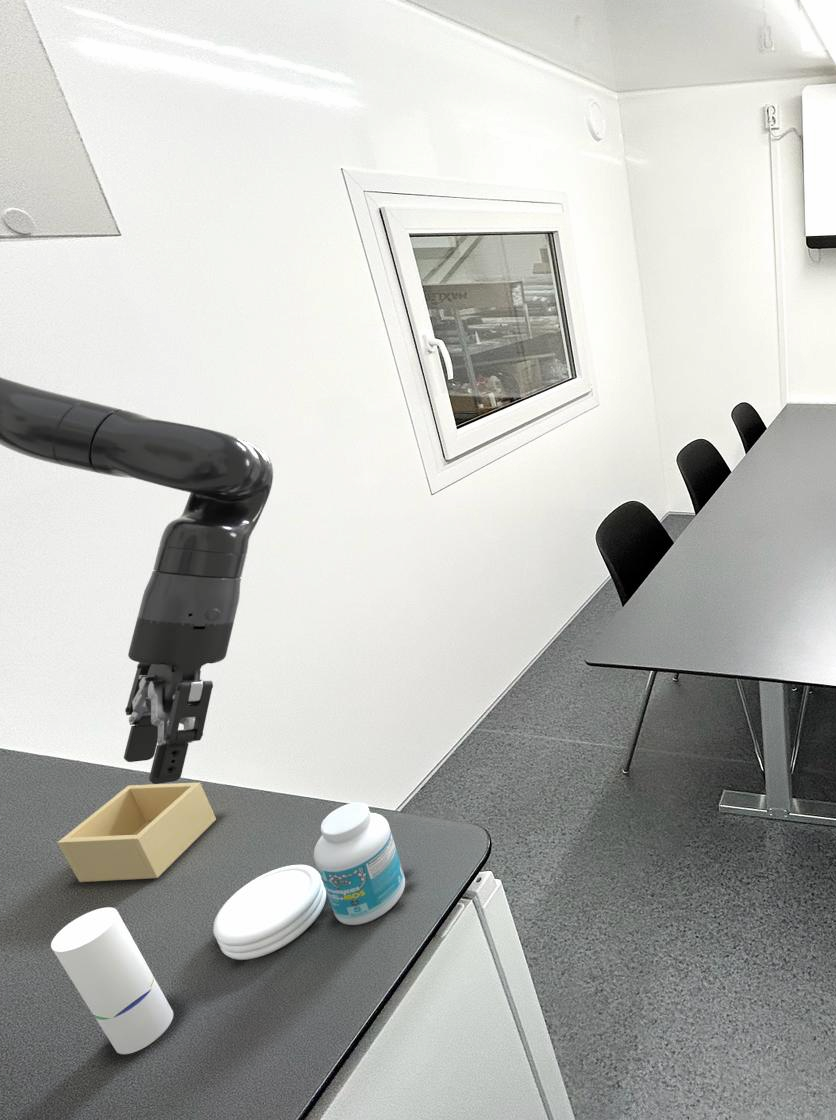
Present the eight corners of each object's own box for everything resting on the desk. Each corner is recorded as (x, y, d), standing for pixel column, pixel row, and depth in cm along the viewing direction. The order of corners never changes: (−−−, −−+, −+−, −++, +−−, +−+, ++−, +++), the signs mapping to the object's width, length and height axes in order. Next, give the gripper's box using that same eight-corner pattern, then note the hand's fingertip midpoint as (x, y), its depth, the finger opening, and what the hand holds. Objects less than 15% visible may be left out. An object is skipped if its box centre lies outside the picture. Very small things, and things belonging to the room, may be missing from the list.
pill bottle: (320, 920, 75) (287, 836, 70) (373, 867, 81) (347, 788, 77) (371, 935, 73) (341, 850, 68) (421, 880, 80) (397, 799, 75)
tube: (130, 1016, 65) (70, 915, 59) (182, 1001, 66) (128, 901, 61) (104, 1061, 61) (38, 958, 56) (160, 1044, 63) (100, 942, 57)
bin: (79, 882, 79) (56, 842, 77) (146, 822, 88) (128, 785, 86) (157, 878, 80) (137, 838, 77) (216, 819, 89) (200, 782, 86)
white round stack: (251, 977, 69) (241, 956, 67) (203, 939, 72) (193, 918, 71) (345, 901, 77) (338, 880, 76) (298, 871, 81) (290, 851, 80)
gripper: (119, 606, 67) (79, 759, 65) (162, 624, 60) (119, 797, 58) (209, 609, 74) (176, 749, 72) (258, 625, 66) (222, 782, 65)
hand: (150, 770), depth 65 cm, fingers open, 8 cm apart
